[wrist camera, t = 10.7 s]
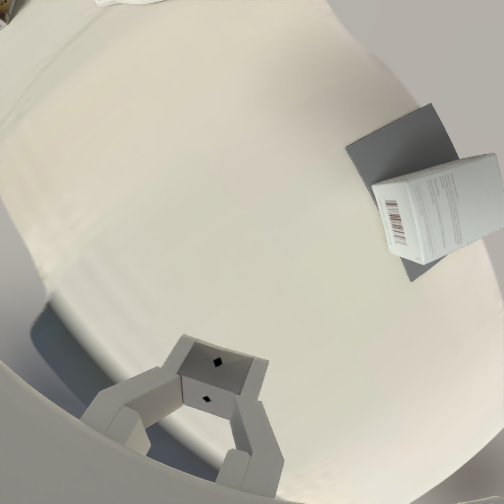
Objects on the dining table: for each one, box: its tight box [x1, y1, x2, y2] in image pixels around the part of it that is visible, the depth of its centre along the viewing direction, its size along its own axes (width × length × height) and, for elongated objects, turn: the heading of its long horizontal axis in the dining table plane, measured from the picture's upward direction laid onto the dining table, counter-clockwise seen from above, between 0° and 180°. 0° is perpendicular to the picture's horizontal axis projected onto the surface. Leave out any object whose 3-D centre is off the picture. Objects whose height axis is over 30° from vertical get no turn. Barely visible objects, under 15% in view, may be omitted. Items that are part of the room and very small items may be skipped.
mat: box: [345, 103, 459, 282], centre depth 28 cm, size 16×13×1 cm
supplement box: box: [372, 153, 504, 265], centre depth 24 cm, size 7×7×13 cm
